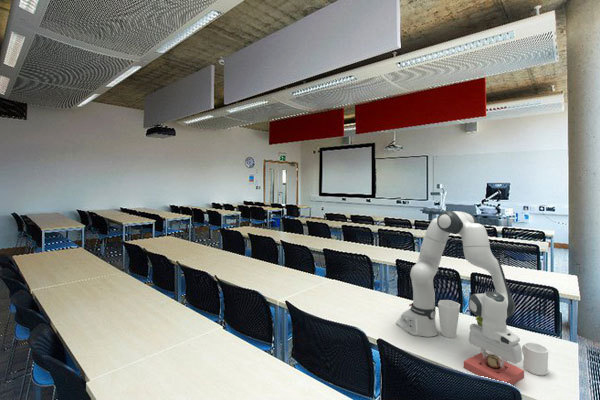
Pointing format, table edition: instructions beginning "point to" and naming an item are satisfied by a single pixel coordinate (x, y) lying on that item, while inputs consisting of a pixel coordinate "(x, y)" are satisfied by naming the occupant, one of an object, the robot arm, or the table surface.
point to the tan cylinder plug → (493, 361)
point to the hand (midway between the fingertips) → (493, 362)
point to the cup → (448, 317)
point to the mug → (535, 358)
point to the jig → (502, 374)
